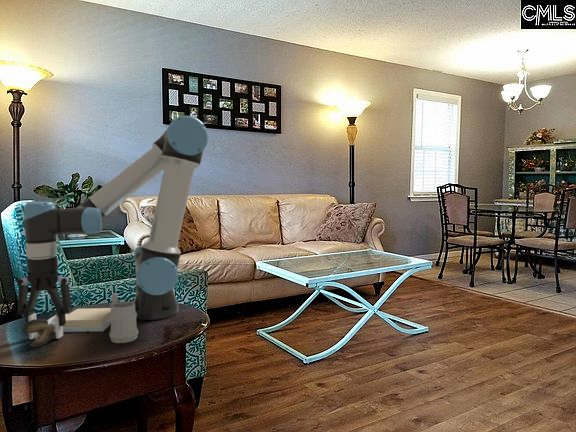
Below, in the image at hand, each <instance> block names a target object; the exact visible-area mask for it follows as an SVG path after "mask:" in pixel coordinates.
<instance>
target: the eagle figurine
mask: <svg viewBox="0 0 576 432" xmlns="http://www.w3.org/2000/svg"><path fill="white" fill-rule="evenodd" d="M47 320H48V319H45V318H43V319H37V320H36V319H34V320H31V321H29V322H27V323H26V322H25V324H24V326H23V327H22V329H21V332H22V333H23V334H24V335H26V334H27V335H29V333H35V332H39V333H37V336H36V337H35V338H34V341H32V342H31V343H30V347H33V348H36V347H40V346H42V347H43V345H46V344H48V343H49V342H50V340H51V339H52V338H53V337H54V336H56V332H54V331H53V329H56V327H55V319H53V320H52V322H51V323H50V324H48V321H47Z"/></svg>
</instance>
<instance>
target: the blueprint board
mask: <svg viewBox="0 0 576 432" xmlns="http://www.w3.org/2000/svg"><path fill="white" fill-rule="evenodd" d="M110 312H111V307H105V308H104V307H101V308H95V307H94V308H75V310H73V311H71V312H70V313H66V314H65V318H66V323H65V325H64V326H63V333H77V332H78V333H80V332H81V333H83V332H84V333H85V332H86V333H87V331H89V332H104V331H105V330H107V328H108V327H110V326H111V325H110V324H111V320H110ZM56 315H57V314H55V315H54V316H52V317H50V318H49V319H46V320H47V321H48V324H50V323H51V322H52V320H53V319H55V316H56ZM53 331H54V332H55V333H56V329H53ZM89 332H88V333H89ZM38 333H39V332H37V334H38Z"/></svg>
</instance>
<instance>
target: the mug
mask: <svg viewBox="0 0 576 432" xmlns="http://www.w3.org/2000/svg"><path fill="white" fill-rule="evenodd" d="M111 296H112V297H111V305H110V308H111V312H110V320H111V325H110V331H109V334H108V335H109V338H110V342H112V343H115V344H126V343H129V342H134V341H135V340H136V339H138V335H139V329H138V328H137V327H138V325H137V319H136V317H137V313H136V312H135V303H134V301H119V300H118V294H117V293H116V292H113V293H112V294H111Z"/></svg>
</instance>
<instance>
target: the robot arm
mask: <svg viewBox="0 0 576 432" xmlns="http://www.w3.org/2000/svg"><path fill="white" fill-rule="evenodd" d="M208 142H209V134H208V129H207V127H206V126H205V124H204V123H203V121H201V120H200V119H199V118H197V117H194V116H191V115H182V116H177V117H176V118H174V119H173V120H171V122H170V123H169V125H168V127H167V129H166V130H165V131H164V132H163V133H162V135H161V136H160V137H159V138H157V140H155V141H154V142H153V143H152V145H151V146H152V147H151V148H150V149H148V151H146V152H145V153H144V154H143V155H141V156H140V157H138V159H136V160H135V161H134V162H133V163H131V164H130V165H129V166H127V167H126V168H125V169H124V170H122V171H121V172H120V173H119V174H117V175H116V176H115V177H114V178H112V179H111V180H110V181H109V182H107V183H106V184H104V185H103V186H102V187H100V188H99V189H98V190H97V191H96V192H94V193H93V194H92V195H91V196H89V197H88V198H87V199H86V200H84V201H82V203H80V204H79V205H77V207H69V208H59V207H56V206H55V203H54V201H30V202H27V203H25V205H24V209H23V210H24V212H23V213H24V218H23V221H24V223H23V224H24V235H25V250H26V251H25V255H26V258H27V260H26V270H27V276H25V277H21V278H18V279H17V280H16V285H17V288H18V292H17V294H18V295H17V314H19V315H24V317H25V324H26V323H27V322H29V321H31V320H34V319H36V320H38V319H37V313H35V308H36V304H37V301H38V298H39V295H40V292H41V291H46V292H47V294H48V295H49V296H50V299H51V301H52V304H53V307H54V309H55V311H56V313H57V314H55V315H56V316H55V315H54V316H55V327H56V332H55V339H60V338H62V337H63V336H64V332H63V326H64V325H65V323H66V318H65V314H69V312H72V310H73V305H72V300H71V299H72V298H71V293H70V292H71V291H70V285H69V284H70V280H71V278H70V277H69V276H66V277H65V276H60V273H59V271H58V270H59V263H58V262H59V261H58V257H57V255H58V247H57V246H58V245H57V236H62V235H65V236H66V235H68V236H69V235H91V234H92V235H93V234H100V233H101V232H102V231H103V230H102V229H103V219H104V218H106V216H108V215H109V214H110V213H111V212H112V211H113V210H114V209H116V208H117V207H119V206H120V205H121V204H122V203H124V202H125V201H126V200H127V199H129V198H130V197H131V196H133V195H134V194H135V193H136V192H137V191H139V190H140V189H142V187H144V186H145V185H146V184H147V183H149V182H150V181H151V180H153V179H154V178H155V177H156V176H158V175H159V174H160V173H161V172H162V171H163V173H162V177H161V182H160V185H159V186H160V187H159V191H158V196H157V201H156V205H155V210H154V214H153V218H152V222H151V223H152V224H151V227H150V232H149V238H148V240H147V241H146V242H145V243H143V244H142V245H141V246H137V247H136V248H135V250H134V258H135V259H134V261H135V262H134V263H135V282H136V283H135V288H136V290H135V296H134V299H133V302H134V303H135V312H136V313H137V317H136V320H144V321H150V320H152V321H153V320H154V321H155V320H161V319H166V318H170V317H172V316H175V315H177V314H178V313H179V311H180V310H179V302H178V300H177V297H176V295H175V292H174V287H175V286H176V284H177V281H178V279H179V270H178V269H179V264H180V258H181V255H182V254H181V253H182V252H181V250H180V248H179V247H178V244H179V239H180V234H181V231H182V226H183V220H184V217H185V213H186V207H187V203H188V200H189V199H188V198H189V193H190V190H191V189H190V188H191V186H192V181H193V175H194V171H195V170H196V168H199V167H200V166H201V161H202V158H203V155H204V154H203V153H204V150H205V149H206V147H207V145H208ZM57 283H59V285H60V293H59V289H58V285H57ZM28 284H30V285H31V287H30V291H29V293H30V294H29V296H28V289H29V288H28ZM60 294H61V296H60ZM28 335H29V340H34V339H36V336H37V335H38V333H37V332H35V333H28Z"/></svg>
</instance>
